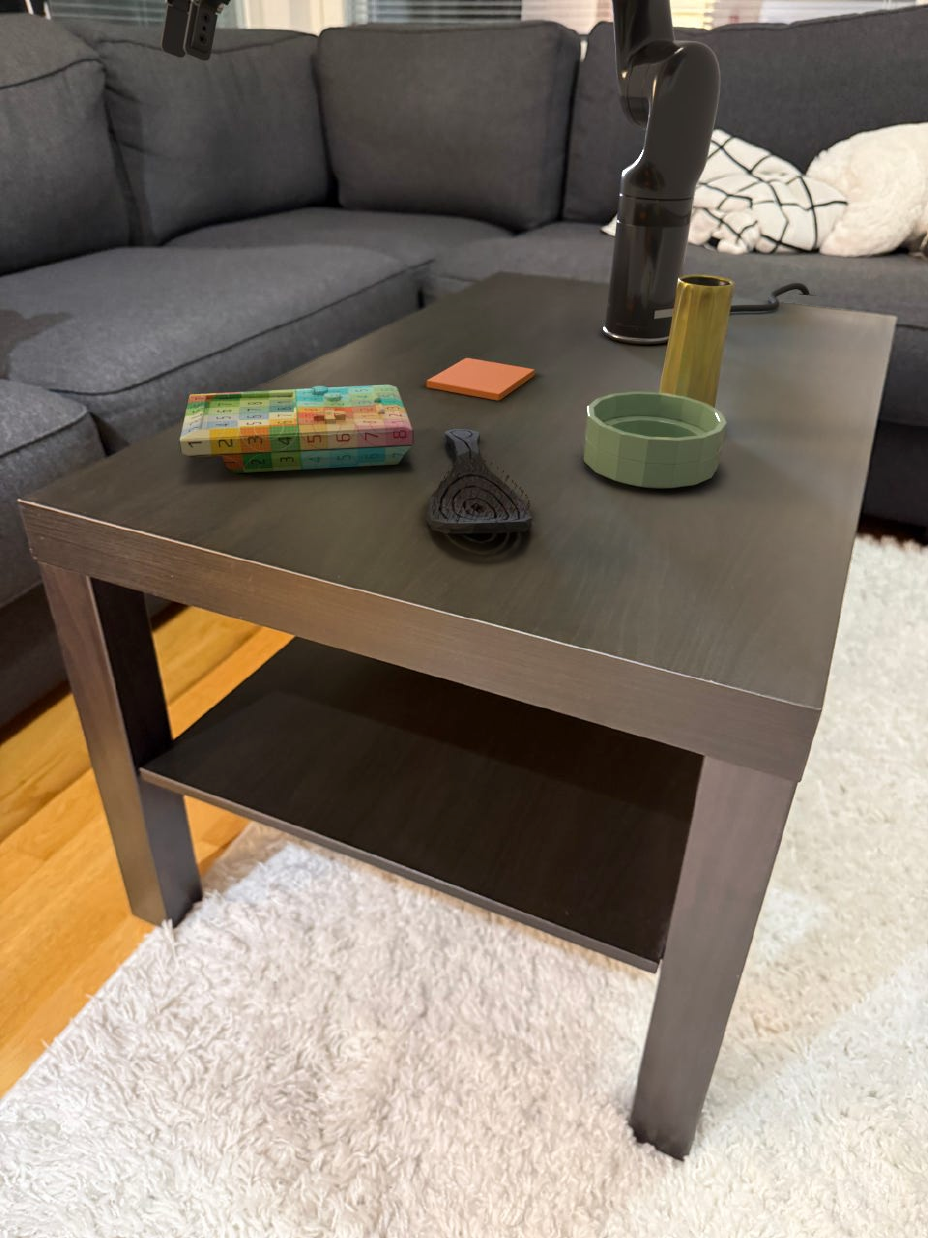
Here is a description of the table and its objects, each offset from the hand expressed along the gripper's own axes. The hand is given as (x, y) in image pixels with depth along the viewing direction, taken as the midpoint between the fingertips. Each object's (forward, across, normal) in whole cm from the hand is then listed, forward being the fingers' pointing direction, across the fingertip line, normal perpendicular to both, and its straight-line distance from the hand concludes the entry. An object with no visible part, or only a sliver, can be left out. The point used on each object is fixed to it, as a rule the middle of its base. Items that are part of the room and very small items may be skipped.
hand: (183, 55), depth 79 cm
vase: (+16, -32, -47) cm, 59 cm away
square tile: (+20, -11, -36) cm, 42 cm away
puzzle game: (+29, -21, -11) cm, 37 cm away
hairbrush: (+25, -36, -21) cm, 48 cm away
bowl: (+19, -38, -37) cm, 57 cm away
